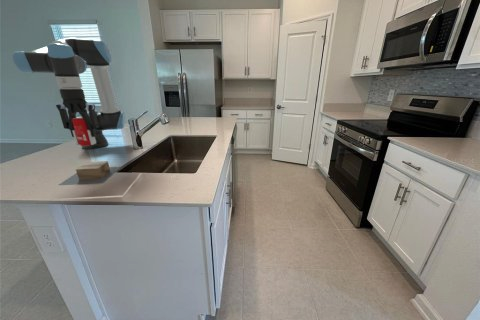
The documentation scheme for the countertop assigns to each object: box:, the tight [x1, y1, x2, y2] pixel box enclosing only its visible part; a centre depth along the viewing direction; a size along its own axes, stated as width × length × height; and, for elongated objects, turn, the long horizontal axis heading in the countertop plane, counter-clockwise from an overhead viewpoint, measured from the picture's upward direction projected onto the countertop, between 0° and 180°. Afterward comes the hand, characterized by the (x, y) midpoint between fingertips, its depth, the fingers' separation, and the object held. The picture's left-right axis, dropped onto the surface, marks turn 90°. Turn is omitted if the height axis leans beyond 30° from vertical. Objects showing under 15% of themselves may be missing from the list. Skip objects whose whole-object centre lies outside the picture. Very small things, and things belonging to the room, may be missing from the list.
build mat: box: [58, 166, 122, 186], centre depth 94 cm, size 18×18×1 cm
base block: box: [75, 160, 110, 180], centre depth 93 cm, size 9×9×5 cm
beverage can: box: [72, 116, 91, 147], centre depth 86 cm, size 5×5×12 cm
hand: (86, 144), depth 88 cm, fingers closed on beverage can, 5 cm apart
